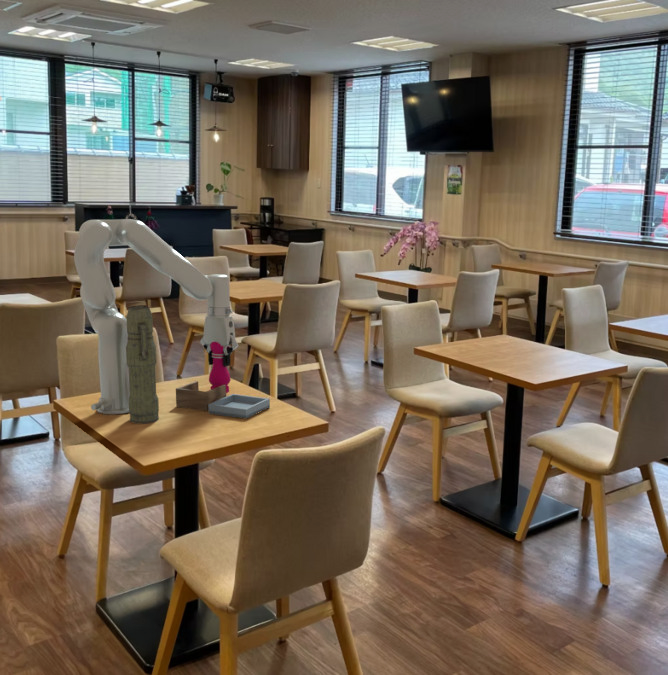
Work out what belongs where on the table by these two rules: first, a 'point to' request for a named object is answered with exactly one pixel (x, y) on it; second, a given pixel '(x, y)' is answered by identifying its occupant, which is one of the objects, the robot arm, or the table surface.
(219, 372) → the pepper mill
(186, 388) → the walnut bay
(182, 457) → the table surface
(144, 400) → the olive piece
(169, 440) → the table surface
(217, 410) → the slate tray
